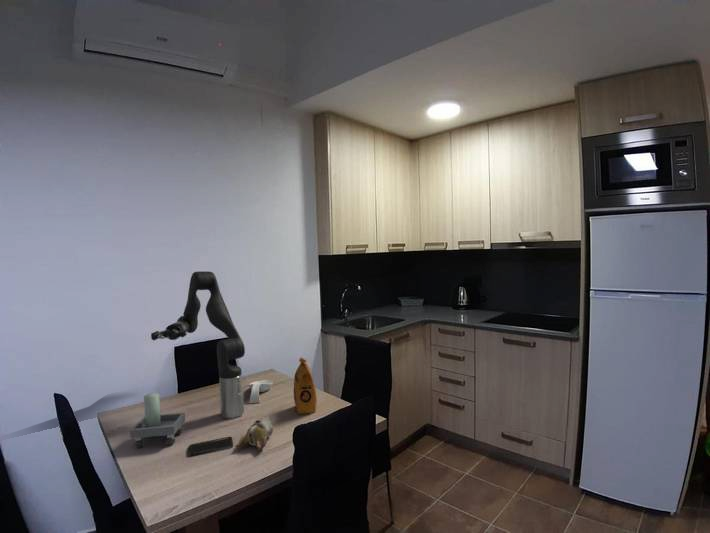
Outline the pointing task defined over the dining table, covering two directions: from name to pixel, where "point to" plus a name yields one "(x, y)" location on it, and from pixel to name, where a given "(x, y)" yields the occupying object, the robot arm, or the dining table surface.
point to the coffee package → (304, 389)
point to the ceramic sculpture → (257, 434)
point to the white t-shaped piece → (259, 389)
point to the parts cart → (159, 428)
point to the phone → (210, 446)
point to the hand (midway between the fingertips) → (163, 337)
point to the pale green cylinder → (152, 410)
